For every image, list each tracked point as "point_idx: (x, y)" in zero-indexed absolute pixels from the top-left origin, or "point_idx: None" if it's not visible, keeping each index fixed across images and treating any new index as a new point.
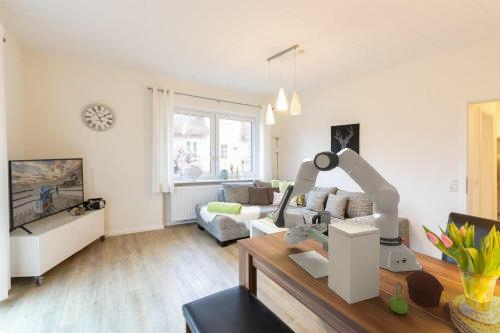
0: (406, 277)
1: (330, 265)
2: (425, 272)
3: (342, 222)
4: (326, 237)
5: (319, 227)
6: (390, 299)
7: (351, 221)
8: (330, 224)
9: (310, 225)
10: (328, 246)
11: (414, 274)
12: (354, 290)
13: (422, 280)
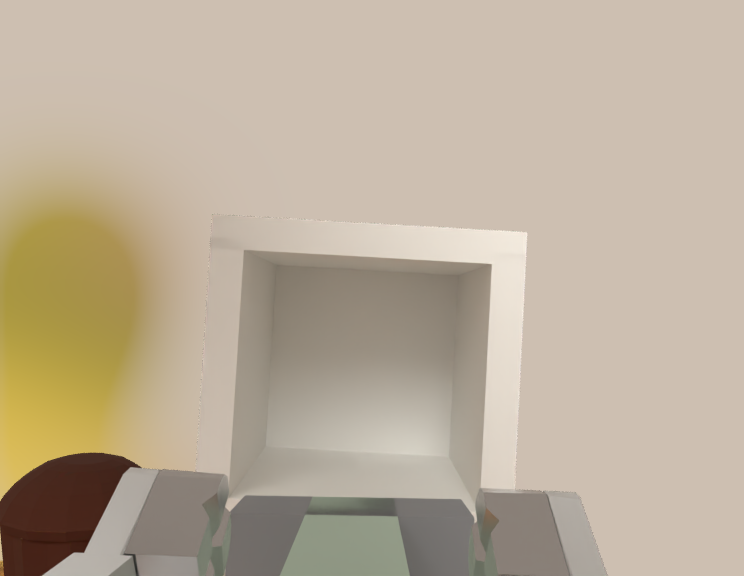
0: (91, 526)
1: None
2: (63, 458)
3: (371, 223)
4: (324, 546)
5: (224, 547)
6: None
7: (273, 218)
8: (510, 232)
9: (529, 491)
10: (516, 437)
11: (110, 474)
12: None
13: (140, 467)
